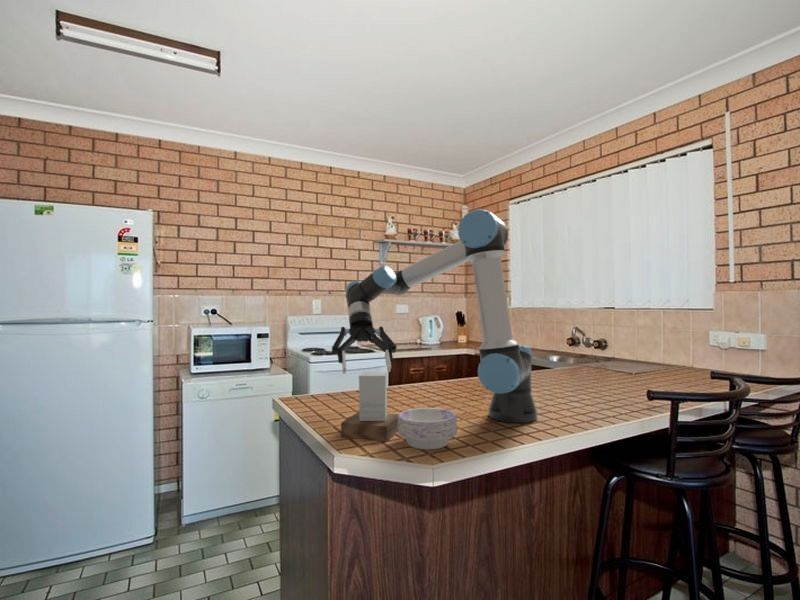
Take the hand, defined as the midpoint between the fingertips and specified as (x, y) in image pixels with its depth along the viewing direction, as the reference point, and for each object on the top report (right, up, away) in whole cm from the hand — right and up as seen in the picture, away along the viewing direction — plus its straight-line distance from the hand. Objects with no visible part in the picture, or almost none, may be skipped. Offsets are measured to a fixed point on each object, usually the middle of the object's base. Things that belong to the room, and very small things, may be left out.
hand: (367, 370), depth 128 cm
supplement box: (+2, -12, -8) cm, 15 cm away
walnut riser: (+2, -16, -8) cm, 18 cm away
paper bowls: (+17, -16, -18) cm, 30 cm away
